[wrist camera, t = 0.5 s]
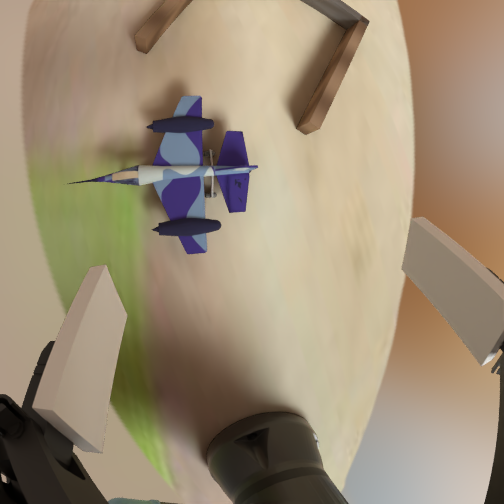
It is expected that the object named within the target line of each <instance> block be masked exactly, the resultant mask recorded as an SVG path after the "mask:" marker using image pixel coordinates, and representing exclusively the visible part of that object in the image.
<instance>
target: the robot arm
mask: <svg viewBox="0 0 504 504" xmlns="http://www.w3.org/2000/svg"><path fill="white" fill-rule="evenodd" d="M402 270H403V271H404V272H405V273H406V275H407V276H408V277H409V278H410V279H411V280H412V281H413V282H414V283H415V285H416V286H417V287H418V288H419V289H420V290H421V291H422V293H423V294H424V295H425V296H426V297H427V298H428V299H429V301H430V302H431V303H432V304H433V305H434V307H435V308H436V309H437V310H438V311H439V312H440V314H441V315H442V316H443V317H444V318H445V320H446V321H447V322H448V324H449V325H450V326H451V327H452V329H453V330H454V331H455V332H456V334H457V335H458V336H459V337H460V339H461V340H462V341H463V343H464V344H465V345H466V347H467V348H468V349H469V351H470V352H471V353H472V355H473V356H474V357H475V359H476V360H477V361H478V363H479V364H480V366H482V365H484V364H486V363H487V362H489V361H491V360H492V359H493V358H494V356H495V355H496V353H497V352H498V350H499V349H501V350H502V351H503V353H502V355H501V356H500V358H499V359H498V361H497V362H496V364H495V365H494V366H493V368H492V371H491V373H494V371H495V370H496V369H497V367H498V366H500V368H499V369H498V371H497V373H496V374H499V375H500V407H499V422H498V433H497V442H496V450H495V456H494V462H493V467H492V473H491V477H490V482H489V487H488V491H487V495H486V499H485V502H484V504H504V282H503V281H502V280H501V279H499V278H498V276H497V275H496V274H494V273H493V272H492V271H491V270H490V269H488V268H486V267H485V266H484V265H482V264H481V263H480V262H479V261H478V260H477V259H476V258H474V257H473V256H472V255H471V254H470V253H469V252H467V251H466V250H465V249H464V248H463V247H461V246H460V245H459V244H458V243H456V242H455V241H454V240H453V239H451V238H450V237H449V236H448V235H446V234H445V233H444V232H443V231H441V230H440V229H439V228H437V227H436V226H435V225H433V224H432V223H431V222H429V221H428V220H427V219H425V218H424V217H418V218H411V221H410V227H409V233H408V239H407V244H406V250H405V255H404V259H403V264H402ZM126 320H127V313H126V311H125V309H124V307H123V304H122V302H121V300H120V298H119V295H118V293H117V290H116V288H115V286H114V283H113V281H112V278H111V276H110V273H109V271H108V268H107V266H106V265H100V266H94V267H90V268H89V270H88V272H87V274H86V276H85V278H84V280H83V282H82V284H81V286H80V288H79V290H78V292H77V294H76V296H75V298H74V300H73V302H72V304H71V307H70V309H69V311H68V313H67V315H66V318H65V320H64V322H63V324H62V327H61V329H60V331H59V334H58V336H57V338H56V341H50V342H49V343H48V345H47V346H46V347H45V348H44V350H43V351H42V353H41V355H40V357H39V360H38V362H37V366H36V368H35V370H34V376H32V378H31V381H30V384H29V387H28V389H27V392H26V395H25V398H24V402H23V405H22V408H20V407H19V406H18V405H17V404H16V403H15V402H14V401H13V400H12V399H11V398H10V397H9V396H7V395H5V394H0V504H176V503H165V502H159V501H158V500H149V501H145V500H135V499H127V498H114V499H111V500H109V501H108V502H107V501H106V499H105V498H104V496H103V495H102V494H101V492H100V491H99V490H98V488H97V487H96V485H95V484H94V482H93V481H92V479H91V478H90V476H89V475H88V473H87V472H86V470H85V469H84V467H83V465H82V464H81V462H80V460H79V459H78V457H77V456H76V455H75V453H73V445H76V446H77V447H78V448H80V449H81V450H82V451H86V452H95V453H103V446H104V437H105V430H106V422H107V415H108V409H109V402H110V396H111V390H112V385H113V379H114V374H115V369H116V364H117V359H118V355H119V350H120V345H121V341H122V337H123V332H124V328H125V324H126ZM318 449H319V442H318V438H317V435H316V433H315V432H314V430H313V429H312V427H311V426H310V425H309V423H308V422H307V421H306V420H305V419H303V418H302V417H300V416H298V415H295V414H291V413H285V412H272V413H264V414H259V415H255V416H252V417H248V418H246V419H243V420H241V421H238V422H236V423H234V424H233V425H231V426H229V427H228V428H226V429H225V430H223V431H222V432H221V433H220V434H218V435H217V436H216V437H215V439H214V440H213V441H212V442H211V444H210V446H209V448H208V451H207V463H208V467H209V471H210V474H211V476H212V477H213V479H214V480H215V481H216V482H217V483H218V484H219V486H220V487H221V488H222V490H223V491H224V492H225V494H226V495H227V496H228V497H229V499H230V500H231V501H232V502H233V504H348V502H347V501H346V500H345V498H344V497H343V496H342V494H341V493H340V491H339V490H338V489H337V487H336V486H335V485H334V483H333V482H332V481H331V479H330V478H329V476H328V475H327V473H326V472H325V470H324V468H323V463H322V459H321V456H320V453H319V450H318ZM1 474H3V475H5V476H6V478H7V483H5V482H3V481H2V478H1Z"/></svg>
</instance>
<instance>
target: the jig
mask: <svg viewBox="0 0 504 504" xmlns="http://www.w3.org/2000/svg"><path fill="white" fill-rule="evenodd" d="M191 1H192V0H166V1H165V2H164V3H163V4H162V5H161V6H160V7H159V8H158V9H157V11H156V12H155V13H154V14H153V15H152V16H151V17H150V18H149V19H148V21H147V22H146V23H145V24H144V25H143V26H142V27H141V29H140V30H139V31H138V32H137V33H136V35H135V40H136V46H137V50H138V51H141V52H143V53H146V54H147V53H148V52H149V51H150V49H151V48H152V47H153V45H154V44H155V43H156V42H157V40H158V39H159V38H160V37H161V35H162V34H163V33H164V32H165V31H166V29H167V28H168V27H169V26H170V25H171V23H172V22H173V21H174V20H175V19H176V18H177V17H178V15H179V14H180V13H181V12H182V11H183V10H184V9H185V8H186V7H187V6H188V5H189V4H190V2H191ZM301 1H303V2H304V3H306V4H308V5H309V6H311V7H313V8H314V9H316V10H318V11H319V12H321V13H322V14H324V15H325V16H327V17H328V18H330V19H331V20H333V21H334V22H336V23H337V24H339V25H340V26H342V27H343V28H344V29H346V32H345V34H344V36H343V38H342V40H341V42H340V44H339V46H338V48H337V50H336V52H335V53H334V55H333V57H332V59H331V61H330V63H329V65H328V67H327V69H326V71H325V73H324V75H323V77H322V79H321V81H320V83H319V85H318V87H317V88H316V90H315V92H314V94H313V96H312V98H311V100H310V102H309V104H308V106H307V108H306V110H305V112H304V114H303V116H302V118H301V120H300V122H299V124H298V126H297V128H296V129H297V130H299V131H300V132H302V133H304V134H305V135H307V134H309V133H311V132H313V131H316V130H318V129H320V127H321V125H322V123H323V121H324V119H325V117H326V114H327V112H328V110H329V108H330V106H331V104H332V102H333V100H334V97H335V95H336V93H337V91H338V89H339V87H340V85H341V82H342V80H343V78H344V76H345V74H346V72H347V69H348V67H349V65H350V63H351V61H352V59H353V56H354V54H355V52H356V50H357V48H358V46H359V43H360V41H361V39H362V37H363V35H364V33H365V30H366V28H367V26H368V24H369V22H370V21H369V20H367V19H366V18H365V17H363V16H362V15H361V14H359V13H358V12H357V11H355V10H354V9H352V8H351V7H350V6H348V5H347V4H345V3H344V2H342V1H341V0H301Z"/></svg>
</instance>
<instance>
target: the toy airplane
mask: <svg viewBox="0 0 504 504" xmlns="http://www.w3.org/2000/svg"><path fill="white" fill-rule="evenodd" d="M213 126H214V122H213V120H211V119H205V118H202V97H201V96H183V97H182V98H181V100H180V102H179V104H178V106H177V108H176V110H175V113H174V115H173V117H172V118H167V119H162V120H156V121H153V124H151V125H149V126H147V128H150V129H153V132H160V133H165V135H164V138H163V140H162V143H161V145H160V147H159V150H158V152H157V155H156V157H155V160H154V163H153V165H152V166H147V165H138V166H134V167H131V168H128V169H125V170H121V171H118V172H115V173H112V174H109V175H106V176H103V177H99V178H95V179H92V180H86V181H80V182H74V183H82V182H111V183H121V184H127V185H129V184H130V185H138V186H140V185H145V184H149V183H153V185H154V187H155V189H156V191H157V193H158V195H159V198H160V200H161V202H162V204H163V206H164V208H165V210H166V212H167V214H168V216H169V218H170V221H167V222H163V223H159V226H158V227H156V228H154V229H152V230H153V231H157V232H159V235H167V236H178V237H179V239H180V241H181V243H182V245H183V247H184V249H185V251H186V253H187V254H197V253H205V252H207V239H206V233H208V232H212V231H216V230H219V229H220V228H221V223H220V222H219V221H218V220H211V219H205V201H204V177H205V176H212V185H211V193H206V194H205V197H206V198H210V197H212V198H213V197H216V196H217V194H216V193H213V184H214V176H217V179H218V182H219V185H220V188H221V190H222V193H223V196H224V199H225V202H226V204H227V207H228V210H229V213H233V212H245V211H246V202H247V193H248V184H249V173H250V172H251V170H253V169H256V168H258V166H257V165H253V166H249V163H248V158H247V152H246V147H245V142H244V137H243V132H241V131H227V132H226V135H225V138H224V142H223V145H222V148H221V152H220V155H219V159H218V162H217V166H213V159H212V156H214V155H215V152H214V151H212V150H211V149H210V150H209V151H205V152H204V156H210V159H211V166H203V152H202V130H206V129H211V128H213ZM69 184H72V183H69ZM63 185H64V184H63Z"/></svg>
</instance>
